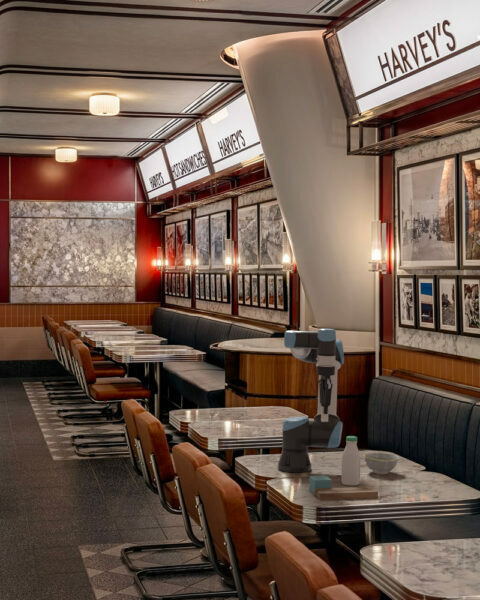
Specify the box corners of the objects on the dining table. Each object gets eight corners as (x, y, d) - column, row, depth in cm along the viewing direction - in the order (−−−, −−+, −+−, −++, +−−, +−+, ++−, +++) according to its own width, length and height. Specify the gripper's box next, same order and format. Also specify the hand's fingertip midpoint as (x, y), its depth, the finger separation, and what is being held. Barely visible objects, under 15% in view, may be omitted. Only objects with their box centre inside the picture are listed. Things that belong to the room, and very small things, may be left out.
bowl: (404, 472, 397) (404, 455, 397) (390, 478, 384) (391, 461, 384) (371, 467, 406) (372, 450, 406) (356, 473, 393) (357, 456, 392)
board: (313, 494, 352) (314, 488, 352) (370, 493, 357) (370, 486, 357) (319, 499, 344) (320, 493, 344) (378, 498, 349) (378, 491, 349)
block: (309, 490, 359) (309, 476, 359) (325, 490, 360) (325, 475, 360) (314, 495, 352) (314, 480, 352) (331, 494, 353) (331, 479, 353)
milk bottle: (359, 486, 367) (360, 438, 367) (340, 485, 369) (341, 437, 368) (360, 482, 375) (361, 435, 374) (342, 481, 377) (343, 434, 376)
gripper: (313, 363, 376) (312, 418, 377) (321, 367, 363) (320, 424, 364) (330, 363, 378) (328, 418, 379) (339, 367, 365) (337, 424, 366)
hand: (324, 421), depth 372 cm, fingers closed
